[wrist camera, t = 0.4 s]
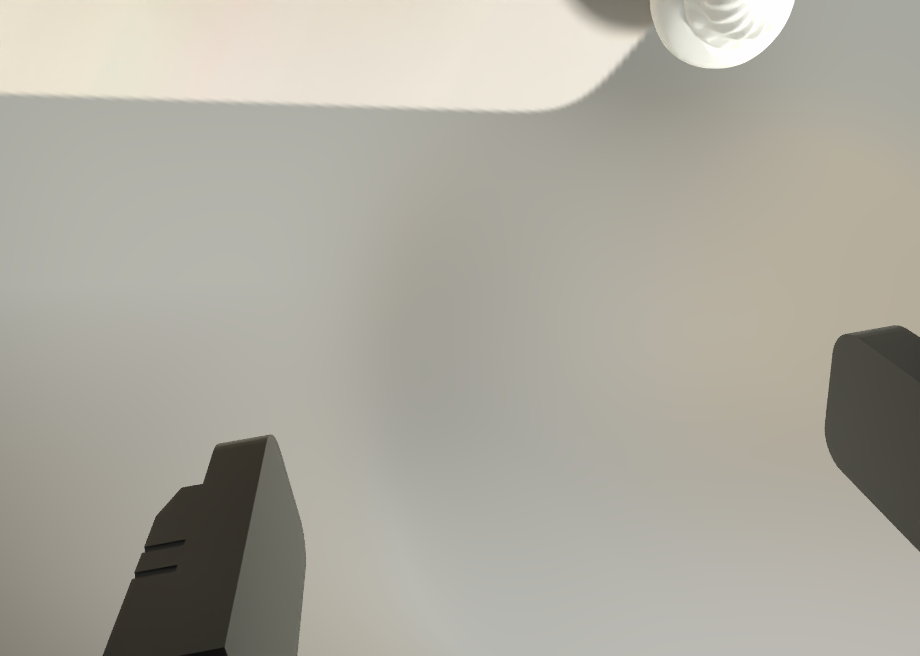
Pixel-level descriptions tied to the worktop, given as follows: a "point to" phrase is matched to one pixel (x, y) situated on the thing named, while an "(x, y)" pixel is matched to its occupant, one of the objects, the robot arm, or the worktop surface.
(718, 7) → the white ribbed cup
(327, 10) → the worktop surface
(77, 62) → the worktop surface
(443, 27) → the worktop surface
